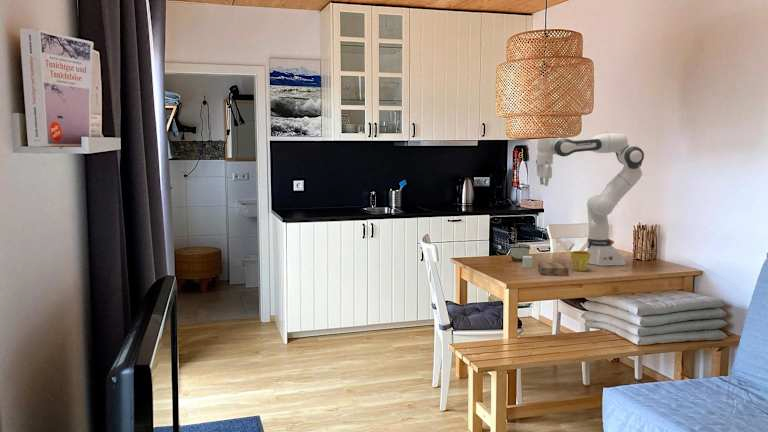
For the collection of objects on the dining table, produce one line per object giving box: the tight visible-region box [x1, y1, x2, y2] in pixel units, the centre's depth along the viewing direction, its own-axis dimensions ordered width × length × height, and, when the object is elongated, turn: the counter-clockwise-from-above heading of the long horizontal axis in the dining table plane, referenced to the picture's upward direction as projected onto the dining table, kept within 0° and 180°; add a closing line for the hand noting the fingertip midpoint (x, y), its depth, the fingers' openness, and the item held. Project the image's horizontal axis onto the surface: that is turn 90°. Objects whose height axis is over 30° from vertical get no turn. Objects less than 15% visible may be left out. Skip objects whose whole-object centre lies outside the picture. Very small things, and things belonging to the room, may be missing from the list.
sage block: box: [521, 255, 534, 269], centre depth 365 cm, size 5×5×6 cm
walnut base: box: [537, 262, 569, 277], centre depth 350 cm, size 14×14×4 cm
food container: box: [508, 243, 531, 263], centre depth 382 cm, size 12×6×10 cm, turn 84°
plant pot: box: [570, 250, 590, 272], centre depth 357 cm, size 10×10×10 cm
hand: (543, 185), depth 374 cm, fingers open, 8 cm apart
